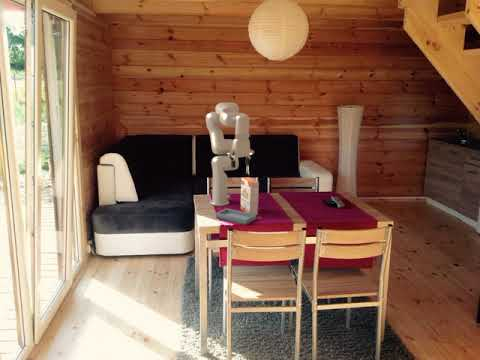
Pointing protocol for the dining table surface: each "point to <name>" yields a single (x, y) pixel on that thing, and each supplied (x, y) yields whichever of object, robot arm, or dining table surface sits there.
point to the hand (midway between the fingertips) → (240, 166)
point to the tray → (236, 216)
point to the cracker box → (249, 195)
